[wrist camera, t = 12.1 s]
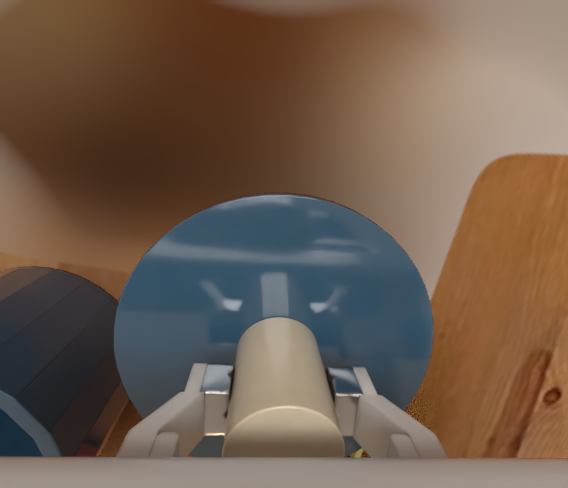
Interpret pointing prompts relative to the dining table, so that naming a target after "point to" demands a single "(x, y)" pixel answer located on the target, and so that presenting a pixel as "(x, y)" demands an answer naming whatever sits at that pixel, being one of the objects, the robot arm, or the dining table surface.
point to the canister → (56, 365)
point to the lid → (274, 319)
